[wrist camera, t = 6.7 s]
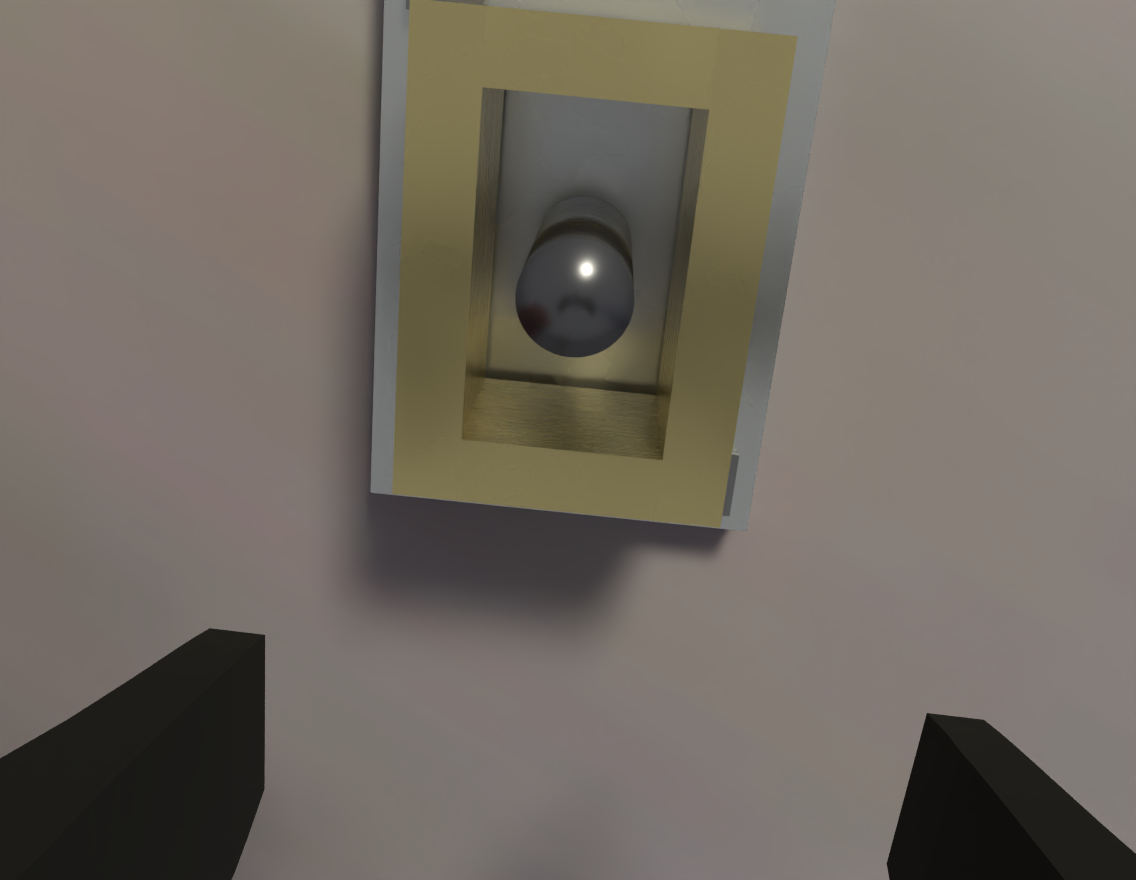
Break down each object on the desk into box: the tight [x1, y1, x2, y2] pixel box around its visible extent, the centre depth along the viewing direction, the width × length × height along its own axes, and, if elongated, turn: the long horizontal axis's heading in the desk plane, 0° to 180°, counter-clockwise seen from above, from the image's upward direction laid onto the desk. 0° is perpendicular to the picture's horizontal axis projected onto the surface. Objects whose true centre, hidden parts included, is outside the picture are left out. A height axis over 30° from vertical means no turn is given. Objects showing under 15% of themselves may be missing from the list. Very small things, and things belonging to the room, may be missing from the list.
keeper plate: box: [371, 0, 836, 531], centre depth 17 cm, size 10×7×5 cm
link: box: [392, 0, 798, 528], centre depth 17 cm, size 7×5×3 cm
